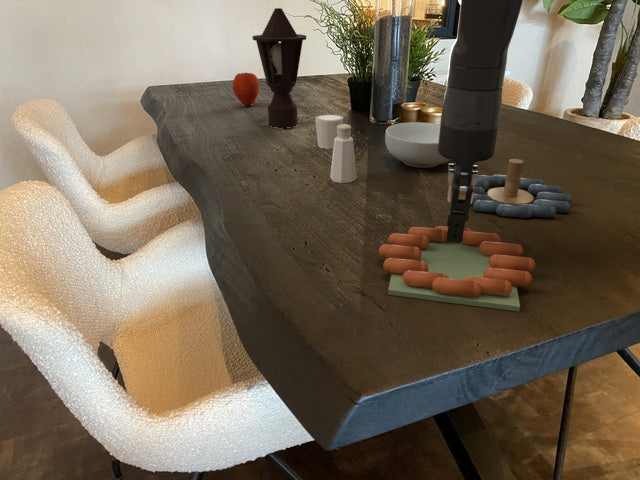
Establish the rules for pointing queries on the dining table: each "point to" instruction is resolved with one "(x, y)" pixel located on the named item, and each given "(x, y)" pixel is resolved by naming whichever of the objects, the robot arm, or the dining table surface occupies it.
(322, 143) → the white sugar pot
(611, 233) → the dining table surface
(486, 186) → the bottom ring
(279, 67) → the lantern
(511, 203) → the ring stand
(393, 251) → the top ring
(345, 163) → the pepper shaker
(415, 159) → the cereal bowl
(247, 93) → the apple
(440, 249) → the mat
